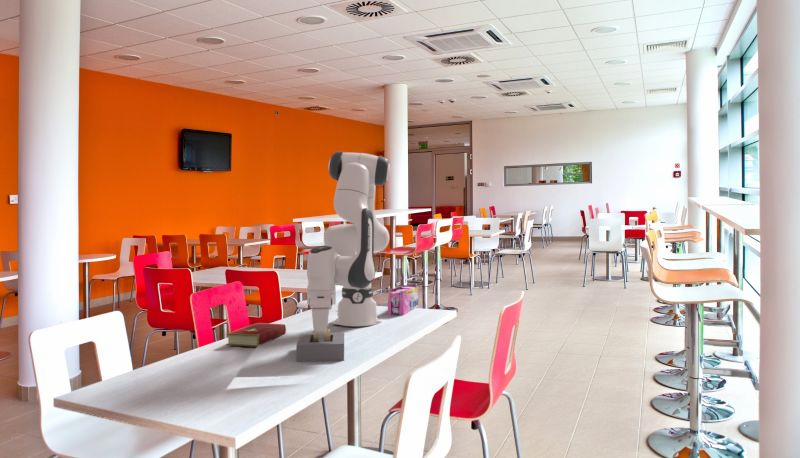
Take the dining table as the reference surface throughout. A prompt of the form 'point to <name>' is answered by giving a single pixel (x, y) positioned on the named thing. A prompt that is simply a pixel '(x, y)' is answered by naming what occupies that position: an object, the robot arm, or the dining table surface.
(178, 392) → the dining table surface
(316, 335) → the tan block
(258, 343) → the hardcover book
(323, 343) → the well
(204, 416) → the dining table surface
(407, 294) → the gum box
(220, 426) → the dining table surface
